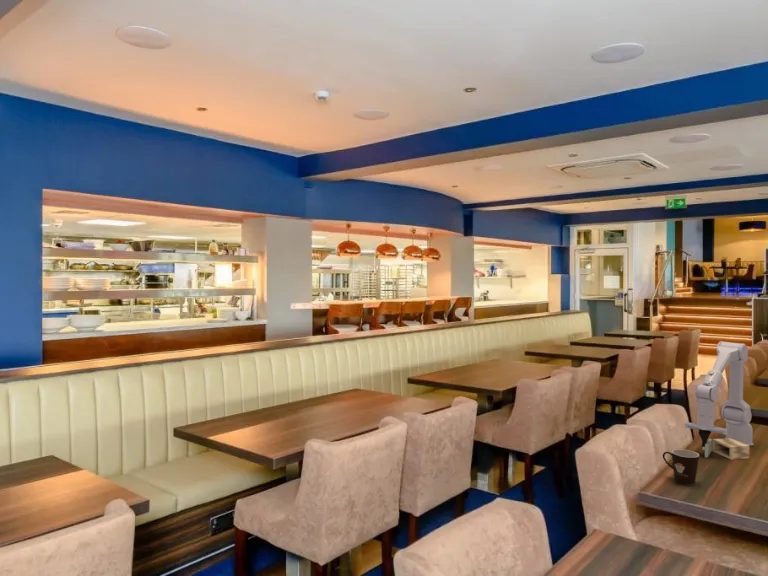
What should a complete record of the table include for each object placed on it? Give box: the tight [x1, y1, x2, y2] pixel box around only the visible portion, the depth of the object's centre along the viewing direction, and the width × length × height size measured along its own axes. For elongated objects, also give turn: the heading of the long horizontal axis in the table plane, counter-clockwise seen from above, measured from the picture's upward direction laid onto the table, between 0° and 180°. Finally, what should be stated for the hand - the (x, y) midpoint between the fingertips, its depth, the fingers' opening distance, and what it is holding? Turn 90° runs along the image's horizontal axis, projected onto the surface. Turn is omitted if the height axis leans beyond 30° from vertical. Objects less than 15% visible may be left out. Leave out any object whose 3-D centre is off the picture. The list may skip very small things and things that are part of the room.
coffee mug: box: [662, 448, 700, 485], centre depth 204 cm, size 12×9×10 cm
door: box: [701, 438, 713, 458], centre depth 230 cm, size 2×10×5 cm, turn 142°
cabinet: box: [711, 437, 751, 461], centre depth 230 cm, size 8×10×5 cm
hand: (704, 448), depth 229 cm, fingers closed, pressing on door
